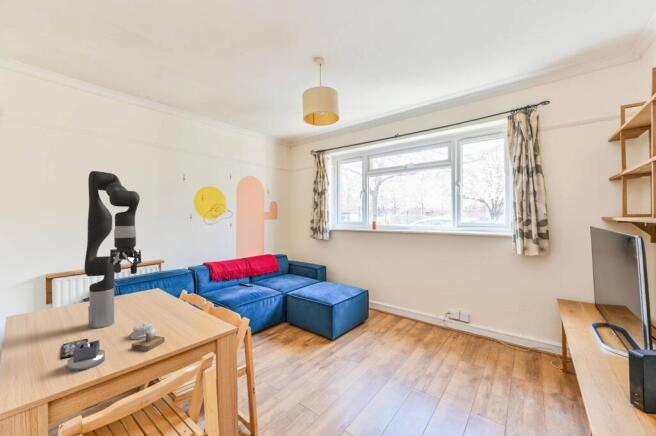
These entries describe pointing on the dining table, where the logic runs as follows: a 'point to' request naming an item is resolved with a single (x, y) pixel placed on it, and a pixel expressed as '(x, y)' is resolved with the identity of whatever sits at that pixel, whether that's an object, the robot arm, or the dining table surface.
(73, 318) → the dining table surface
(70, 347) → the smartphone
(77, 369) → the stand
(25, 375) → the dining table surface
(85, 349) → the grey notched block
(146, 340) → the stand
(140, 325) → the grey rounded lump
